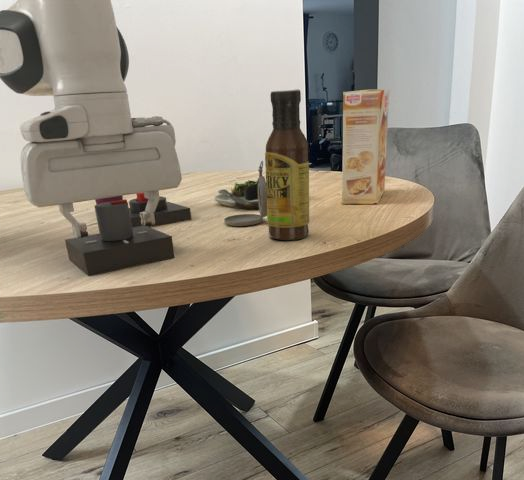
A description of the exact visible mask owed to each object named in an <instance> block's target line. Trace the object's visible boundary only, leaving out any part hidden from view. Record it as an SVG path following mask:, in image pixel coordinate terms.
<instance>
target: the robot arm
mask: <svg viewBox="0 0 524 480" xmlns="http://www.w3.org/2000/svg"><path fill="white" fill-rule="evenodd" d="M115 17H116V16H115V13H114V8H113V5H112V1H111V0H16V1H15V2H14V3H13V4H12V5H11V6H10V7H9V8H7V9H2V10H0V80H1V81H2V82H3V83H4V84H5V86H6V87H8V89H10V90H11V91H13V92H14V93H16V94H19V95H24V96H29V97H50V96H51V97H52V98H53V102H54V109H52V110H49V111H44V112H42V113H40V115H37V116H36V117H33V118H31V119H28V120H26V121H24V122H22V123H21V124H20V127H19V129H20V135H21V136H22V139H23V140H25V141H26V142H28V143H26V144H25V145H24V146H23V147H22V149H21V152H20V171H21V179H22V184H23V189H24V194H25V197H26V200H27V202H29V203H30V204H32V205H33V206H34V207H37V208H47V207H53V206H58V211H59V213H60V214H61V215H62V216H63V217H64V218H65V219H66V221H67V222H68V223H69V224H71V228H72V232H73V236H74V238H83V237H88V235H89V232H88V227H87V223H86V222H84V221H78V220H76V218H75V217H74V216H73V215H72V213H74V212H75V209H74V204H75V203H82V202H90V201H95V200H96V199H103V198H110V197H117V196H131V195H137V193H144V196H145V198H146V199H148V202H147V206H146V209H145V212H139V213H140V217H141V224H142V225H143V226H151V225H155V218H154V212H155V210H156V207H157V204H158V202H159V199H160V198H159V196H160V191H164V190H171V189H177V188H178V187H179V186H180V184H181V182H182V179H183V178H182V171H181V165H180V161H179V156H178V153H177V150H176V141H177V140H176V134H175V127H174V126H173V125H172V123H171V122H170V121H169V120H167V119H164V117H163V116H159V115H158V116H157V115H155V116H152V117H151V116H150V117H132V114H131V108H130V102H129V95H128V89H127V86H126V84H125V81H126V79H127V76H128V73H129V69H130V68H129V66H130V56H129V55H130V54H129V51H128V47H127V44H126V40H125V39H124V37H123V35H122V33H121V31H120V29H119V28H118V26H117V21H116V18H115Z"/></svg>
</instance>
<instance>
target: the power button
mask: <svg viewBox="0 0 524 480" xmlns="http://www.w3.org/2000/svg"><path fill="white" fill-rule="evenodd" d="M136 198H137V200H138V202H144V201H148V199H146V198H145V196H144V193H137V194H136Z"/></svg>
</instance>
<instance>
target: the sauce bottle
mask: <svg viewBox="0 0 524 480" xmlns="http://www.w3.org/2000/svg"><path fill="white" fill-rule="evenodd" d="M269 96H270V103H271V107H272V115H271V116H272V123H271V124H272V131H271V134H270V135H269V137H268V139H267V141H266V144H265V153H264V161H265V162H264V163H265V164H264V165H265V180H266V189H267V216H266V218H267V219H266V220H267V221H266V222H267V225H268V235H269V236H270V237H271V238H272V239H274V240H280V241H298V240H302V239H305V238H307V237H308V236H309V224H310V161H309V143H308V139H307V137H306V136H305V134H304V133H303V131H302V129H301V119H300V104H301V101H302V98H301V97H302V93H301V90H300V89H299V88H297V89H296V88H295V89H291V90H290V89H288V90H273V91H271V92H270V95H269Z"/></svg>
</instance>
